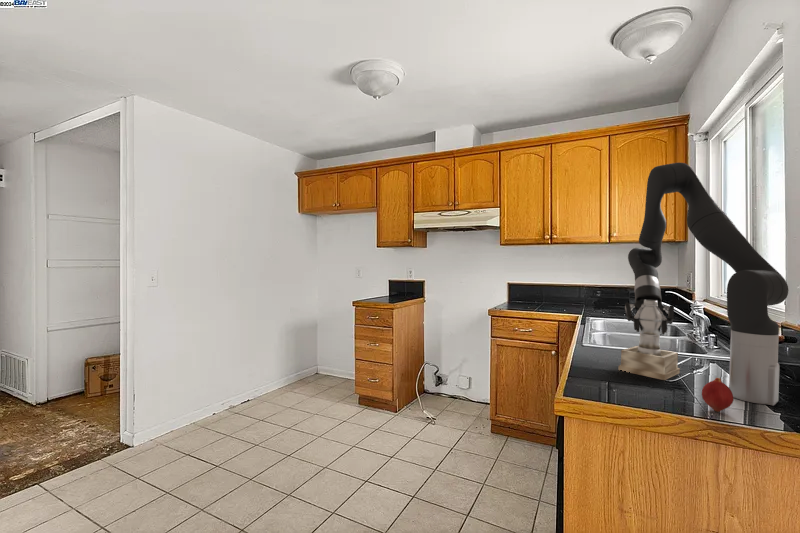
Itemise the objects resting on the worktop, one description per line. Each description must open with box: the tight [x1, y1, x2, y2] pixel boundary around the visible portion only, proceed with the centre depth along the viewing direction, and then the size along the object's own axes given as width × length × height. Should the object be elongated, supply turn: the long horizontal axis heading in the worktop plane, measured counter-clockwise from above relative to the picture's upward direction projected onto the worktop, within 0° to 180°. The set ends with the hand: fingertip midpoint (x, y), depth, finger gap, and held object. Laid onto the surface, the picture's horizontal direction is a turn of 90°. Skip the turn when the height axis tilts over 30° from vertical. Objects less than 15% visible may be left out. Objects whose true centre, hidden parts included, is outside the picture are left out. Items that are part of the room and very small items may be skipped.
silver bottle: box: [637, 300, 662, 356], centre depth 126 cm, size 6×7×20 cm
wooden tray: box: [618, 345, 681, 381], centre depth 126 cm, size 13×13×6 cm
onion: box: [701, 377, 734, 412], centre depth 93 cm, size 6×6×8 cm
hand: (650, 331), depth 125 cm, fingers closed on silver bottle, 6 cm apart
